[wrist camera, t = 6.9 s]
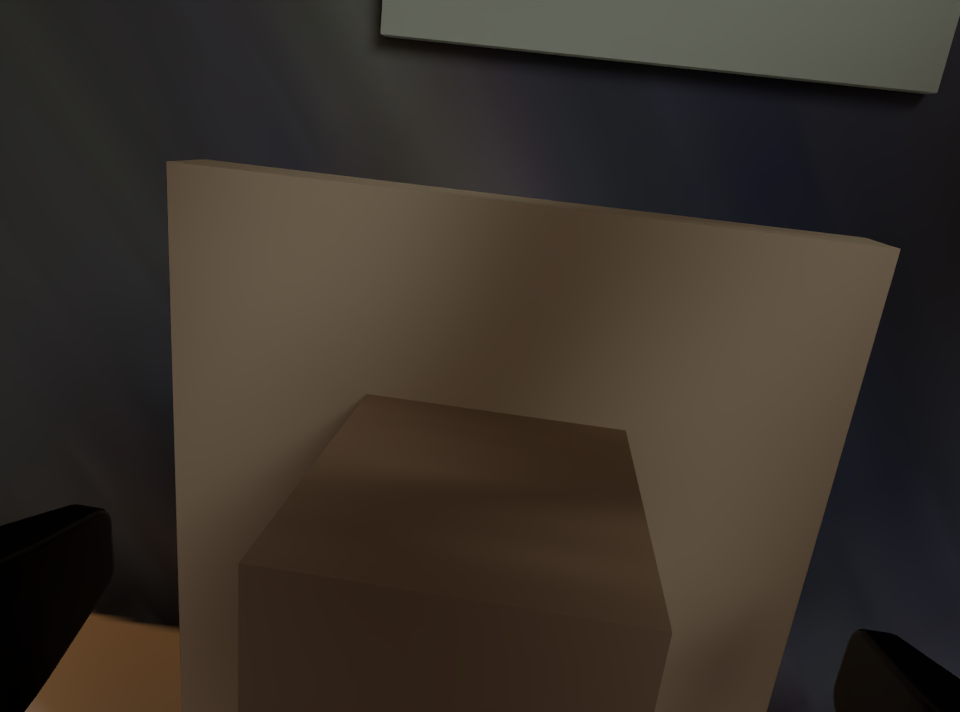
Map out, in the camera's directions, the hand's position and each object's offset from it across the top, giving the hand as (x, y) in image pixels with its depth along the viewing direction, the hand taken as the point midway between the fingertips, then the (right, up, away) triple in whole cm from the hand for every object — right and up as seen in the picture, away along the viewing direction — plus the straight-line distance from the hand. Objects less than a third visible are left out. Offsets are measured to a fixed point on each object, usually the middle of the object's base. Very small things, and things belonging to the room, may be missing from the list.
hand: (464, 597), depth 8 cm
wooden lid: (0, +1, +2) cm, 3 cm away
